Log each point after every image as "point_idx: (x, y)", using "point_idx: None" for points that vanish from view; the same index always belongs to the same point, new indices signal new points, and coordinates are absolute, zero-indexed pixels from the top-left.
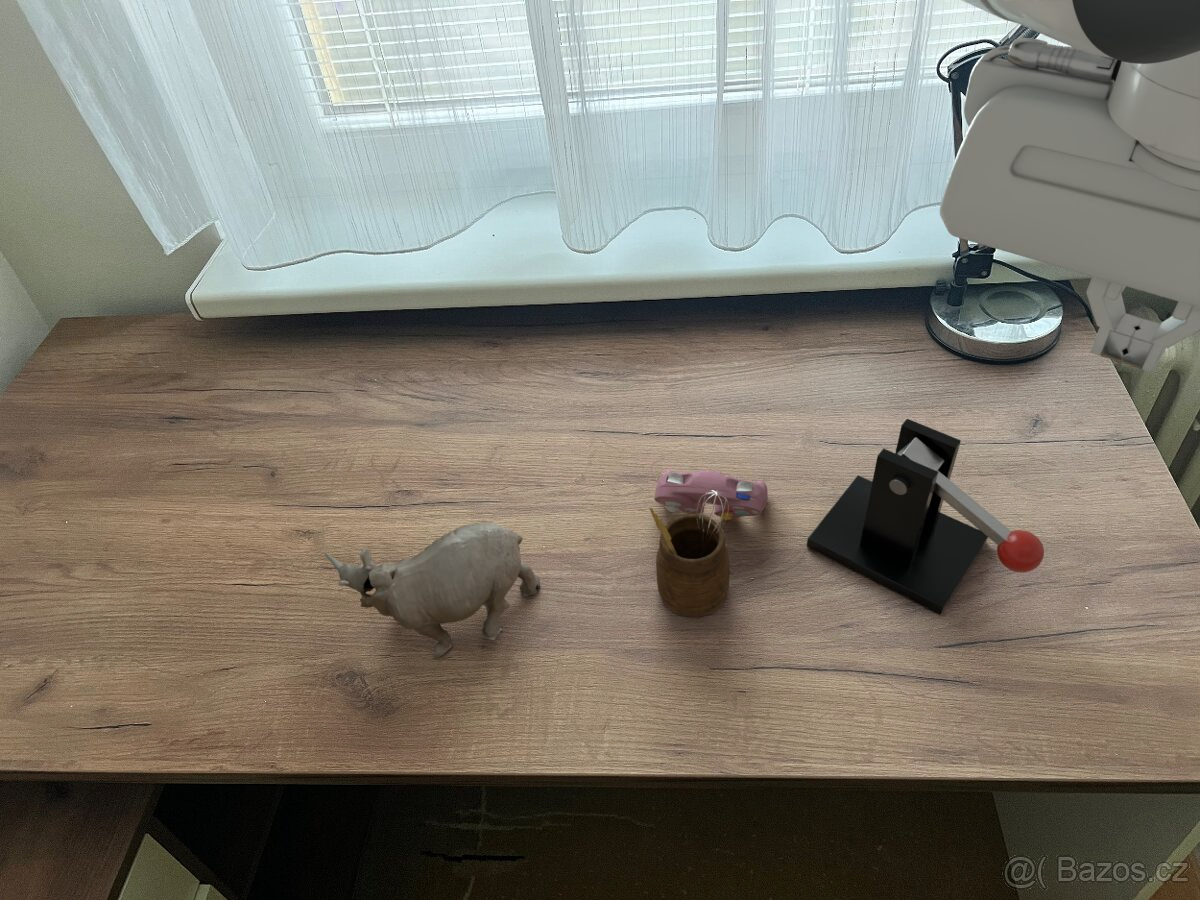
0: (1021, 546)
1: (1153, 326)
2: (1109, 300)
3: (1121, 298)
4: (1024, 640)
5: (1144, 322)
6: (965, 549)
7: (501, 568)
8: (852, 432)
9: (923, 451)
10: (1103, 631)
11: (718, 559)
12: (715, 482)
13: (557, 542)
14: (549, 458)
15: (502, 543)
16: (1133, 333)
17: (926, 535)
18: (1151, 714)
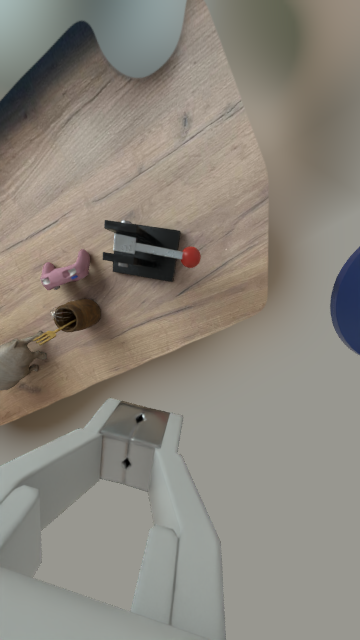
0: (188, 261)
1: (147, 453)
2: (47, 510)
3: (74, 453)
4: (205, 278)
5: (132, 450)
6: (172, 245)
7: (17, 363)
8: (103, 186)
9: (122, 240)
10: (233, 259)
11: (81, 322)
12: (58, 278)
13: (36, 313)
14: (4, 274)
15: (8, 358)
16: (124, 477)
17: (155, 245)
18: (253, 291)
